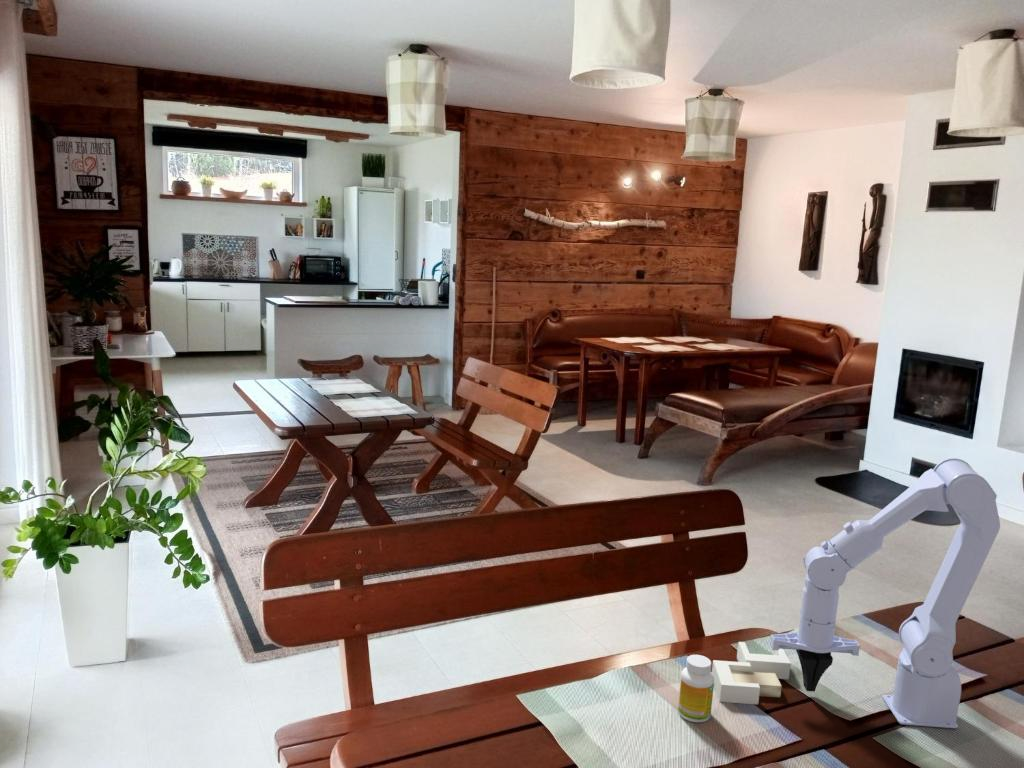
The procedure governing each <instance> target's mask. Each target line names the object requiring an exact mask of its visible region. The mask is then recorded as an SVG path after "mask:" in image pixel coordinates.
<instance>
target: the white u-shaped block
mask: <svg viewBox="0 0 1024 768" xmlns="http://www.w3.org/2000/svg"><path fill="white" fill-rule="evenodd" d="M772 652H773V654H765V653H764V654H762V653H750V651H749V648H748V646H747V643H746V642H745V641H738V643H737V650H736V660H737V662H746V663H750V665H751V672H761V673H775V674H776V676H777V678H778V680H779V679H780V680H789V678H790V670H791V662H790V659H789V658H788V656H787V654H786V652H785V649H779V650H773V651H772Z"/></svg>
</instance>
